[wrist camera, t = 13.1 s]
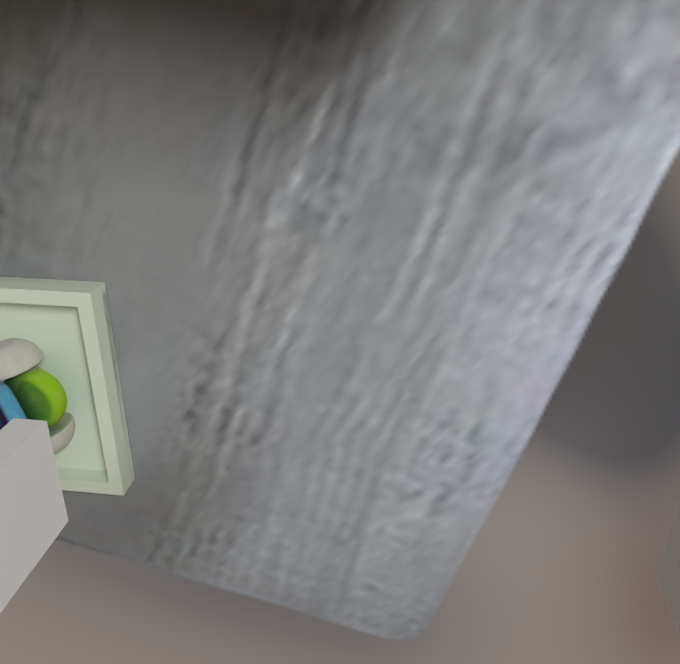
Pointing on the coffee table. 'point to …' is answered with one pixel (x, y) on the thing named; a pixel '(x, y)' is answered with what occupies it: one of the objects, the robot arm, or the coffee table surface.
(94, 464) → the tray
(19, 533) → the robot arm
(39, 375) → the rainbow lobed toy
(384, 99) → the coffee table surface
